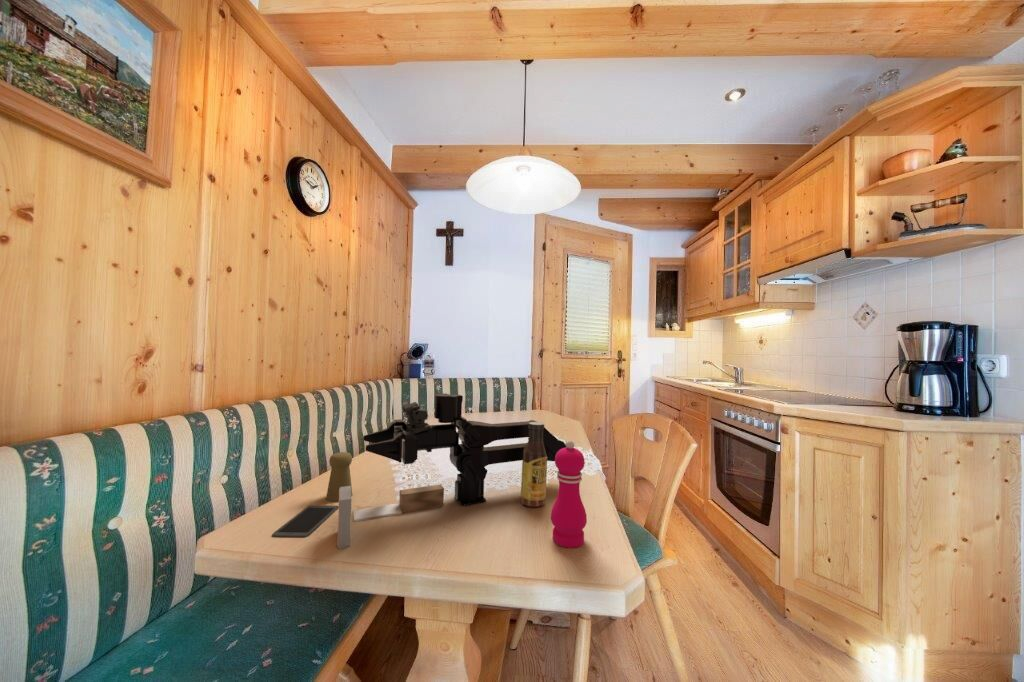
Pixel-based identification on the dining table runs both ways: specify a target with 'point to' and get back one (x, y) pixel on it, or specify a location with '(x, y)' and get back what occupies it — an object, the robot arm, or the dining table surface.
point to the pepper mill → (569, 498)
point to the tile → (344, 517)
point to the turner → (405, 503)
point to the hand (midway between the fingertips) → (364, 442)
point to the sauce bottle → (534, 467)
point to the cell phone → (305, 521)
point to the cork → (339, 475)
